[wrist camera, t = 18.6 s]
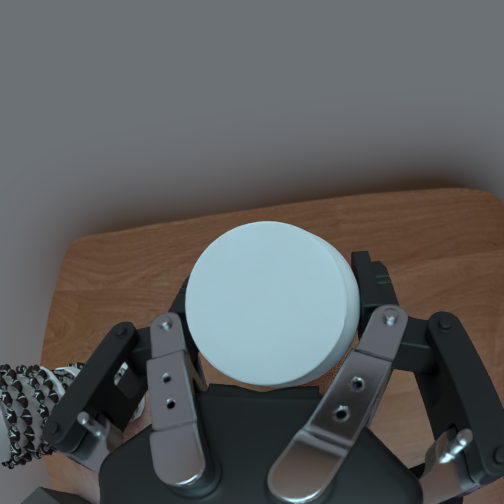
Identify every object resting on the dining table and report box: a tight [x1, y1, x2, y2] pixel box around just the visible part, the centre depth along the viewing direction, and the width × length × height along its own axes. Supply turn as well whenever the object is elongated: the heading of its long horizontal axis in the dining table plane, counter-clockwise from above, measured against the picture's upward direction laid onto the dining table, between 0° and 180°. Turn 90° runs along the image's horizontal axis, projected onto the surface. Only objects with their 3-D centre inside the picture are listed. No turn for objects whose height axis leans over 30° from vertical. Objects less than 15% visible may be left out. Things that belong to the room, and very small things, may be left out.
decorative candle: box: [0, 362, 145, 469], centre depth 18 cm, size 9×9×25 cm
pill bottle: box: [185, 221, 360, 387], centre depth 13 cm, size 6×6×11 cm
